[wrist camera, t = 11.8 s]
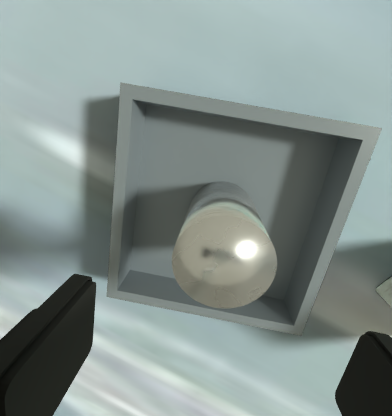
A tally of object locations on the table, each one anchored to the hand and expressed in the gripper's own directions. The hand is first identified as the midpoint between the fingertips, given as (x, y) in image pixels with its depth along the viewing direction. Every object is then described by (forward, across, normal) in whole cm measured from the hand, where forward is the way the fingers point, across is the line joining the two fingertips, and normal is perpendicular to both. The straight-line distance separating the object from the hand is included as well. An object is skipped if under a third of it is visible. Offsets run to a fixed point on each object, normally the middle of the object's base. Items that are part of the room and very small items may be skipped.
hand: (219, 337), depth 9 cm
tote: (+13, 0, -1) cm, 13 cm away
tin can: (+12, 0, -1) cm, 12 cm away
